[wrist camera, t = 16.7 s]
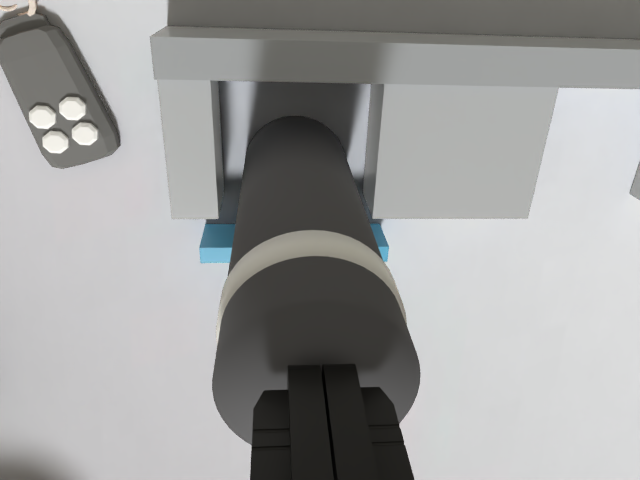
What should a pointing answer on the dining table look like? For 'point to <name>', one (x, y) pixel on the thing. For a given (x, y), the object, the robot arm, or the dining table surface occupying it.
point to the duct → (388, 112)
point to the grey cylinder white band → (305, 278)
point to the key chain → (54, 91)
